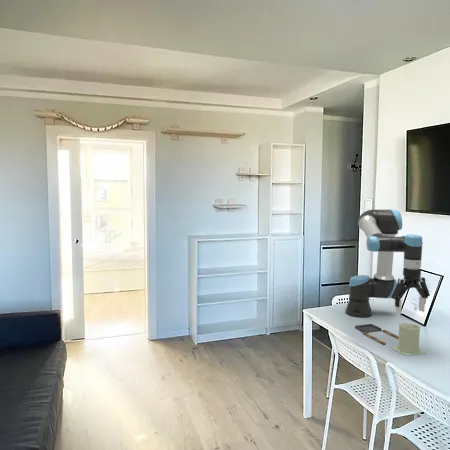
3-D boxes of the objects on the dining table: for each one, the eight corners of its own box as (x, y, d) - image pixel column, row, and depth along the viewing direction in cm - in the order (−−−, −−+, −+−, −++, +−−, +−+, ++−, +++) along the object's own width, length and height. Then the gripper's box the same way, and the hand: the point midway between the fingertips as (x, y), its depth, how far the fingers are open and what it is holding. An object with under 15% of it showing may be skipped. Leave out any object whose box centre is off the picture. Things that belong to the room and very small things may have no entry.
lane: (362, 333, 210) (362, 332, 210) (384, 331, 215) (384, 329, 215) (383, 344, 195) (383, 343, 195) (406, 341, 199) (406, 340, 199)
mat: (390, 347, 192) (390, 347, 192) (410, 344, 195) (410, 344, 195) (405, 355, 182) (405, 355, 182) (426, 352, 186) (426, 352, 186)
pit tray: (354, 328, 219) (355, 325, 219) (371, 326, 222) (371, 323, 222) (364, 333, 211) (364, 330, 211) (381, 331, 215) (381, 328, 214)
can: (423, 353, 185) (424, 328, 183) (403, 353, 184) (405, 328, 183) (412, 345, 194) (413, 321, 193) (394, 346, 193) (395, 322, 192)
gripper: (396, 271, 178) (394, 317, 180) (439, 267, 186) (437, 312, 188) (384, 267, 185) (382, 312, 187) (426, 265, 193) (424, 307, 195)
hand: (410, 312), depth 187 cm, fingers open, 13 cm apart
